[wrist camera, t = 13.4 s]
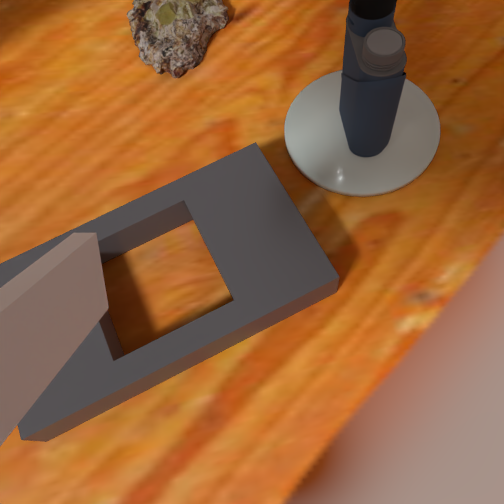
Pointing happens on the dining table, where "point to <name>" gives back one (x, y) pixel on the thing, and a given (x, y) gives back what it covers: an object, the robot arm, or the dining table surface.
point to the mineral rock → (175, 31)
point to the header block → (228, 263)
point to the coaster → (336, 146)
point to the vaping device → (371, 75)
